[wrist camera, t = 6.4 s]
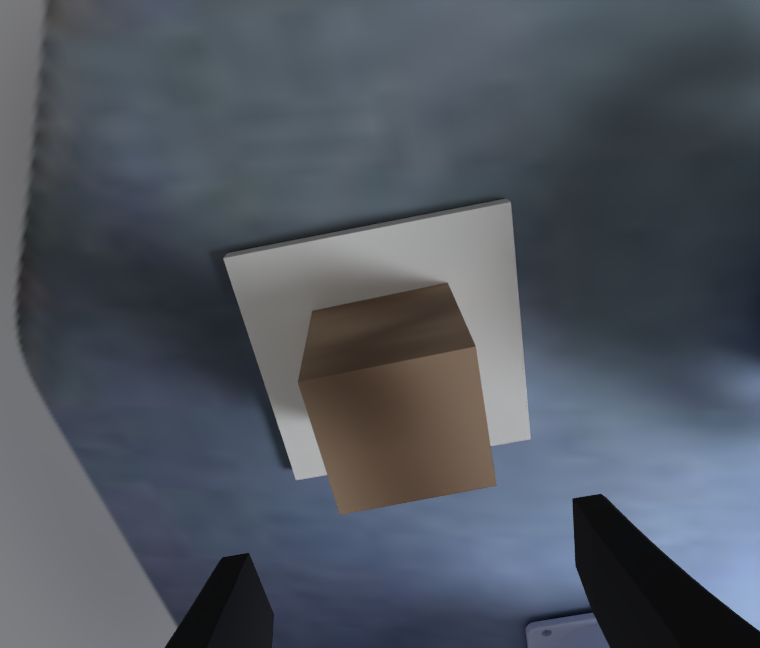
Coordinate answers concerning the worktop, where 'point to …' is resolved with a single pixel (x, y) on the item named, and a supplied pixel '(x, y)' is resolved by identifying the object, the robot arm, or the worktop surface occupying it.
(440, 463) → the walnut block
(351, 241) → the cream tile
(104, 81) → the worktop surface
